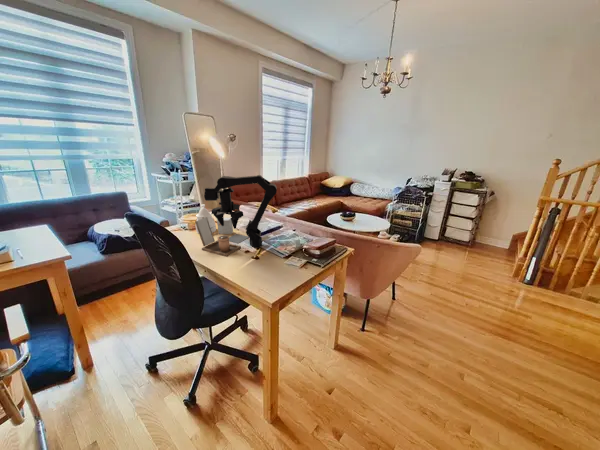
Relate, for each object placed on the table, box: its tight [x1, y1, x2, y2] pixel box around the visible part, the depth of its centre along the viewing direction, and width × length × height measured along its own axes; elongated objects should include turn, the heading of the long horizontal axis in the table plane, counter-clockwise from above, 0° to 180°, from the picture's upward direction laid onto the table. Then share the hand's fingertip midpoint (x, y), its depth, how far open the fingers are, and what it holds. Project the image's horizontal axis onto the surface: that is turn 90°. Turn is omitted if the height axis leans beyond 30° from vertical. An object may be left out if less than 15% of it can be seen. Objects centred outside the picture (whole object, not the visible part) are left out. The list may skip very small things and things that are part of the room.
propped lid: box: [194, 217, 216, 247], centre depth 140 cm, size 15×8×1 cm
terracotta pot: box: [217, 234, 231, 252], centre depth 136 cm, size 6×6×8 cm
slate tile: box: [229, 233, 250, 244], centre depth 152 cm, size 11×11×1 cm
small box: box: [216, 217, 234, 235], centre depth 161 cm, size 8×6×10 cm
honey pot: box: [195, 203, 217, 235], centre depth 165 cm, size 13×13×18 cm
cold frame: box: [201, 217, 241, 257], centre depth 137 cm, size 24×12×17 cm, turn 63°
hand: (228, 227), depth 137 cm, fingers open, 9 cm apart
